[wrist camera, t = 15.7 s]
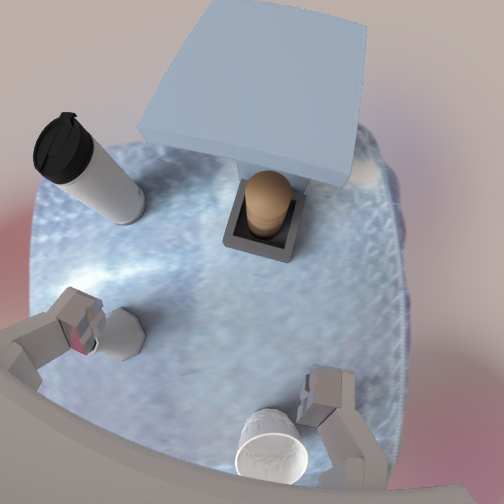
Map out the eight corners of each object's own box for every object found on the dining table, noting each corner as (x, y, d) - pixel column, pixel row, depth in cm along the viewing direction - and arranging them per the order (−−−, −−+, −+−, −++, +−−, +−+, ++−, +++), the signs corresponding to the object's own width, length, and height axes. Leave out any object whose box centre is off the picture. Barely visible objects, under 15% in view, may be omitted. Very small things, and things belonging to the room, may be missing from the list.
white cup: (299, 448, 36) (310, 483, 26) (243, 455, 36) (240, 492, 26) (294, 399, 38) (305, 427, 28) (235, 407, 38) (230, 437, 28)
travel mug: (153, 187, 43) (92, 112, 23) (137, 230, 42) (60, 177, 22) (118, 179, 43) (48, 109, 23) (102, 220, 42) (19, 168, 22)
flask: (91, 331, 39) (52, 337, 29) (121, 298, 40) (85, 295, 30) (123, 369, 38) (89, 385, 28) (155, 336, 39) (126, 345, 29)
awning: (285, 262, 41) (350, 175, 13) (212, 242, 41) (136, 127, 13) (304, 184, 42) (367, 26, 14) (236, 166, 43) (215, -4, 15)
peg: (276, 243, 41) (286, 219, 29) (243, 234, 41) (239, 207, 29) (285, 212, 41) (296, 177, 29) (252, 203, 41) (252, 165, 30)
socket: (287, 263, 41) (290, 259, 37) (224, 246, 41) (222, 241, 38) (302, 203, 42) (306, 195, 39) (242, 188, 42) (241, 178, 39)
